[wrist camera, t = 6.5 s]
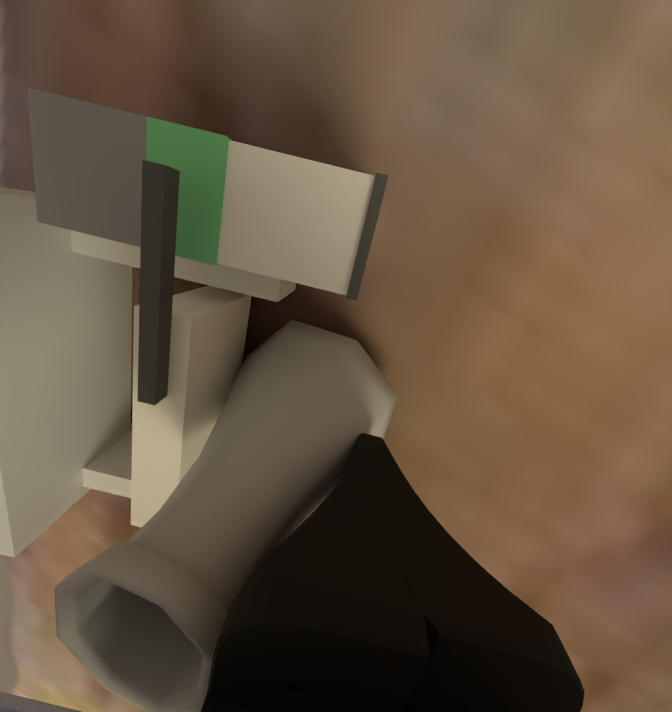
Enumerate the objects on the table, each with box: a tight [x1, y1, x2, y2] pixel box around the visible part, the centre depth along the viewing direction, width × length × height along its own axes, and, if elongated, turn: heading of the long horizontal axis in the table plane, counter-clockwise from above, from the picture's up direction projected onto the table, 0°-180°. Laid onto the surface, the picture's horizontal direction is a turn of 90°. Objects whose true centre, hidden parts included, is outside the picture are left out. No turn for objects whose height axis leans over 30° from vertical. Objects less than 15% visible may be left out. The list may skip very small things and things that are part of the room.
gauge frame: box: [0, 87, 388, 558], centre depth 12 cm, size 14×12×6 cm
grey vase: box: [54, 320, 398, 712], centre depth 10 cm, size 7×7×10 cm
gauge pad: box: [131, 160, 252, 527], centre depth 12 cm, size 12×2×6 cm, turn 167°
